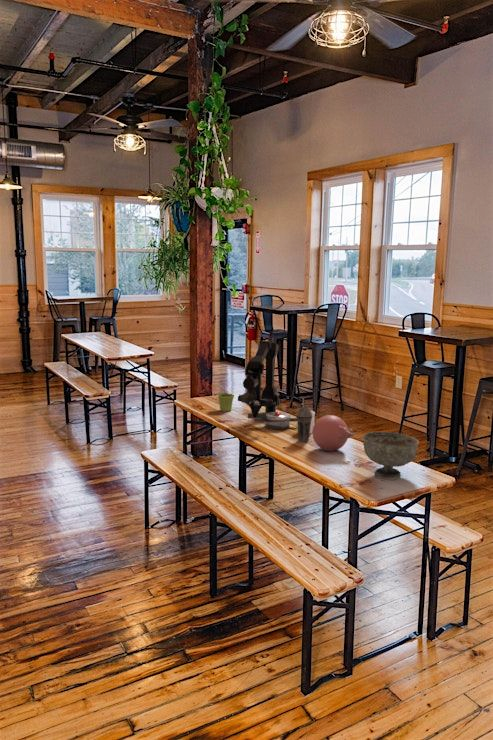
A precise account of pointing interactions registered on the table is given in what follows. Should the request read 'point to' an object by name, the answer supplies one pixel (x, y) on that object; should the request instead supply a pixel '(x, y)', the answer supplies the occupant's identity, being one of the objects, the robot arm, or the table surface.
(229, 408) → the plant pot
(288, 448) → the table surface
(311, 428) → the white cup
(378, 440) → the bowl
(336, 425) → the balloon
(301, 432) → the beverage cup
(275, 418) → the lid
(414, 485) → the table surface
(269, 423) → the pot
